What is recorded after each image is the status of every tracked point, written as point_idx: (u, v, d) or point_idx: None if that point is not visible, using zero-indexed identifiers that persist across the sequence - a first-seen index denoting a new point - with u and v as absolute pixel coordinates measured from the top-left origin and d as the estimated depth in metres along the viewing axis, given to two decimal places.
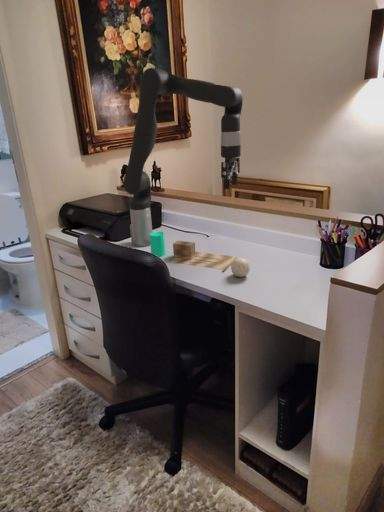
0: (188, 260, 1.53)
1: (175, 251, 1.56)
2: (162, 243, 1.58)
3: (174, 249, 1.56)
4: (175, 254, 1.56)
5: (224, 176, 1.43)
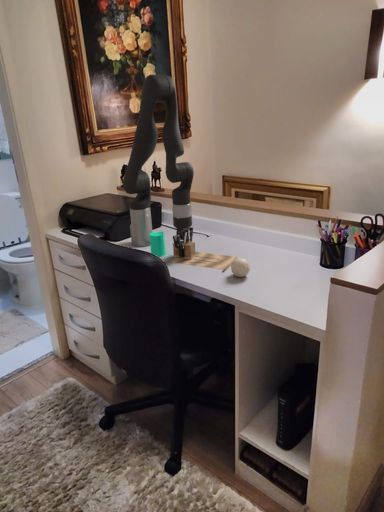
0: (188, 260, 1.53)
1: (175, 251, 1.56)
2: (162, 243, 1.58)
3: (174, 249, 1.56)
4: (175, 254, 1.56)
5: (178, 247, 1.51)
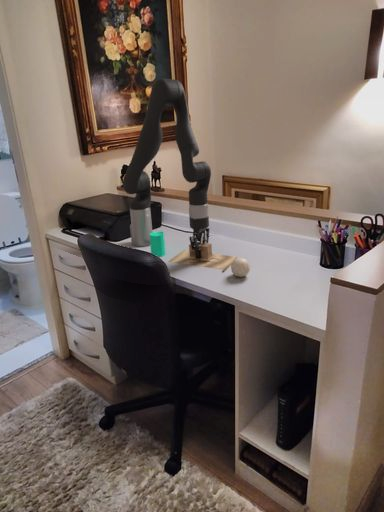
0: (188, 260, 1.53)
1: (191, 252, 1.52)
2: (162, 243, 1.58)
3: (190, 250, 1.52)
4: (191, 255, 1.53)
5: (194, 248, 1.47)
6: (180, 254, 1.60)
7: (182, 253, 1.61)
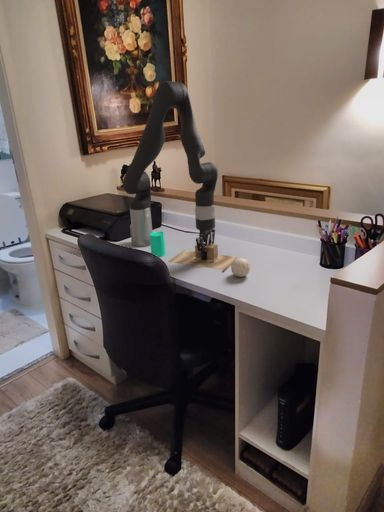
0: (188, 260, 1.53)
1: (197, 254, 1.52)
2: (162, 243, 1.58)
3: (196, 252, 1.52)
4: (197, 257, 1.52)
5: (201, 249, 1.47)
6: (180, 254, 1.60)
7: (182, 253, 1.61)
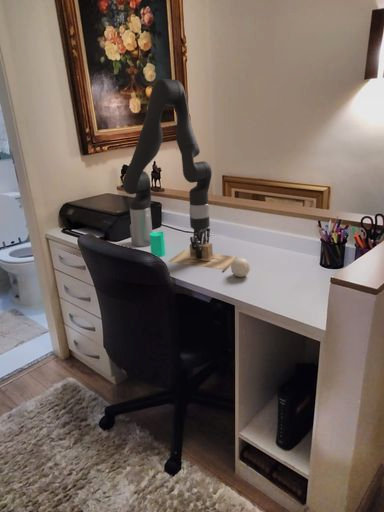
0: (188, 260, 1.53)
1: (192, 252, 1.52)
2: (162, 243, 1.58)
3: (191, 250, 1.52)
4: (192, 256, 1.53)
5: (195, 248, 1.47)
6: (180, 254, 1.60)
7: (182, 253, 1.61)
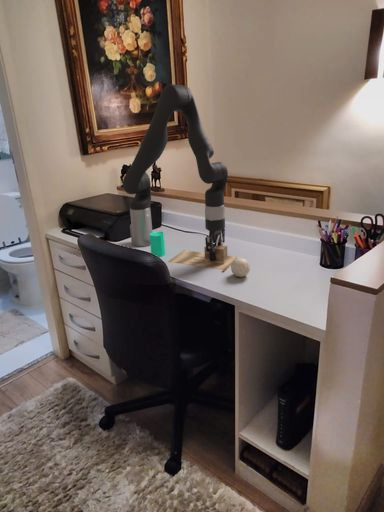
0: (188, 260, 1.53)
1: (206, 255, 1.50)
2: (162, 243, 1.58)
3: (205, 253, 1.50)
4: (206, 258, 1.50)
5: (209, 250, 1.44)
6: (180, 254, 1.60)
7: (182, 253, 1.61)
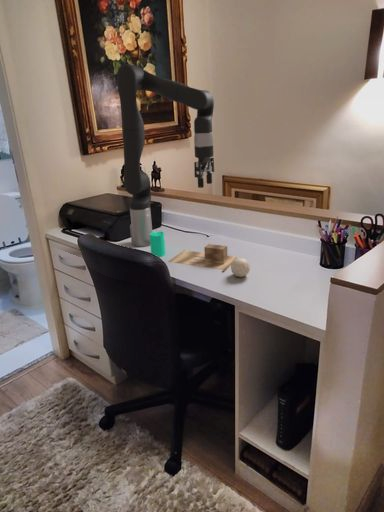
0: (188, 260, 1.53)
1: (206, 255, 1.50)
2: (162, 243, 1.58)
3: (205, 253, 1.50)
4: (206, 258, 1.50)
5: (197, 175, 1.50)
6: (180, 254, 1.60)
7: (182, 253, 1.61)
